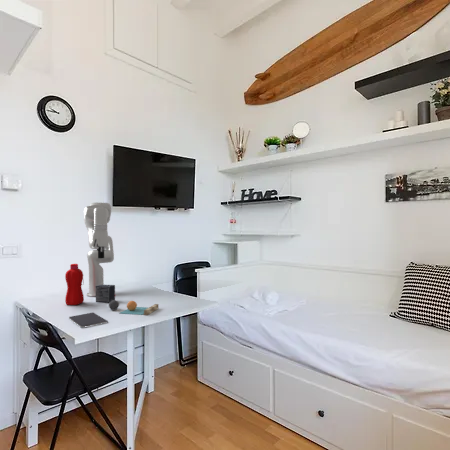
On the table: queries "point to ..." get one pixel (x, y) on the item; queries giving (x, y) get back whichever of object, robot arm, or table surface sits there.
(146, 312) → the stopper strip
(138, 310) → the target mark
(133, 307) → the orange ball
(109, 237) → the robot arm
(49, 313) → the table surface
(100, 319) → the notebook
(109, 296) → the small box
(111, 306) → the dark gray ball
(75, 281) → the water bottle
